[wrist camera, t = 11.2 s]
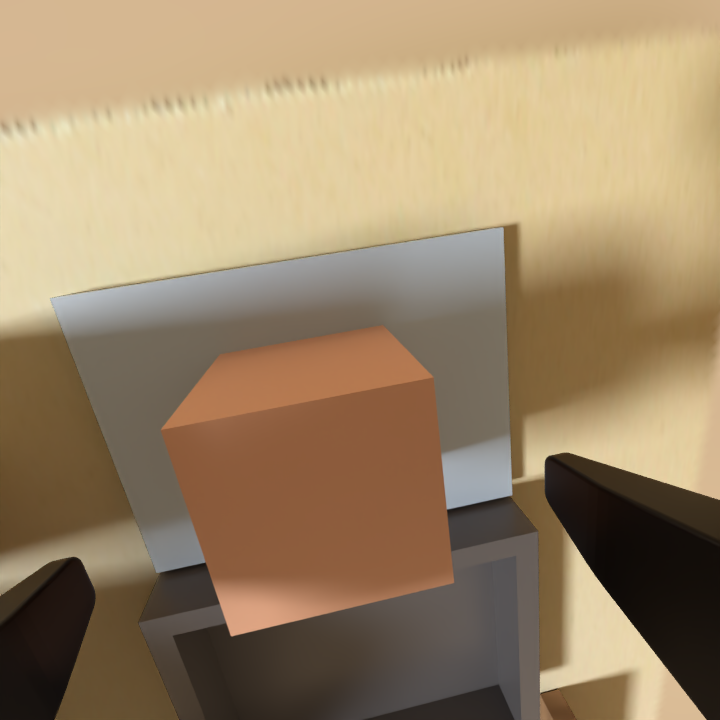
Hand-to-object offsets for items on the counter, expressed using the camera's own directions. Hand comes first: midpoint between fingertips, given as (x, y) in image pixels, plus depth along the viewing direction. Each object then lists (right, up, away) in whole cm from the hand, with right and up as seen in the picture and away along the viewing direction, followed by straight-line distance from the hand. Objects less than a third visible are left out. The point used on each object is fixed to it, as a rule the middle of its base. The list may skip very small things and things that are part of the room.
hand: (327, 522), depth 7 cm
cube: (-1, +1, +5) cm, 5 cm away
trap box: (+1, -8, +9) cm, 12 cm away
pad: (-1, +2, +6) cm, 6 cm away
